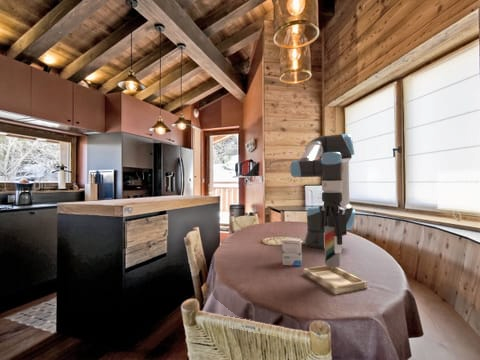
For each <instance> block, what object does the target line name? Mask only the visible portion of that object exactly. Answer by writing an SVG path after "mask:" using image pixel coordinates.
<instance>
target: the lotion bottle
mask: <svg viewBox="0 0 480 360" xmlns="http://www.w3.org/2000/svg"><path fill="white" fill-rule="evenodd" d="M334 235H336V233H335V228H334V223H333V219H332V218H331V215H327V226H325V249H324V264H325V265H326V266H329V267H338V268H340V267H341V253H335V251H334Z"/></svg>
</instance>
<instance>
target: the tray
mask: <svg viewBox="0 0 480 360" xmlns="http://www.w3.org/2000/svg"><path fill="white" fill-rule="evenodd" d="M303 275H304V276H306V277H308V278H309V279H311V280H312V281H313V282H315V283H317V284H318V285H320V286H321V287H322V288H325V289H326V290H327V291H329V292H331V293H333V294H334V295H340V294H344V293H345V292H346V293H350V291H351V292H355V290H356V291H360V290H359V289H361V290H365V289H364V288H366V289H368V281H367V280H364V279H363V278H360V277H358V276H355V275H354V274H352V273H350V272H348V271H346V270H344V269H341V268H340V267H329V266H326V265H319V266H312V267H304V268H303Z"/></svg>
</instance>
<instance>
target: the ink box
mask: <svg viewBox="0 0 480 360" xmlns="http://www.w3.org/2000/svg"><path fill="white" fill-rule="evenodd" d="M281 247H282V249H281V250H282V265H284V266H295V267H296V266H297V267H302V263H303V261H302V255H303V254H302V240H301V238H288V237H287V238H286V237H284V238H283V239H282V240H281Z"/></svg>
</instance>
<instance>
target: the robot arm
mask: <svg viewBox="0 0 480 360" xmlns="http://www.w3.org/2000/svg"><path fill="white" fill-rule="evenodd" d="M354 155H355V150H354V143H353V137H352V134H349V133H341V134H331V135H321V136H318V137H316V138H314V139H312V140H310V141H309V142H308V143H307V144H306V146H305V148H304V153H302V155H301V157H300V159H299V160H297V159H296V160H293V161H291V162H290V166H289V170H290V171H289V172H290V176H291V177H293V178H319V177H321V191H322V192H321V200H322V202H323V205H317V206H310V207H308V208H307V210H306V224H307V225H306V226H307V228H306V229H307V231H306V236H305V238H304V245H305V246H306V247H309V248H313V249H324V250H325V226H327V215H331V218H332V219H333V223H334V228H335V233H336V235H334V251H335V253H340V254H342V252H343V249H342V245H343V236H347V235H348V230H352V229H354V223H355V215H356V209H355V208H353V205H352V204H351V203H350V169H349V168H350V166H349V165H350V164H349V162H350V161H351V159H352V156H354ZM320 157H321V158H320ZM319 158H320V159H319Z"/></svg>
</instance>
